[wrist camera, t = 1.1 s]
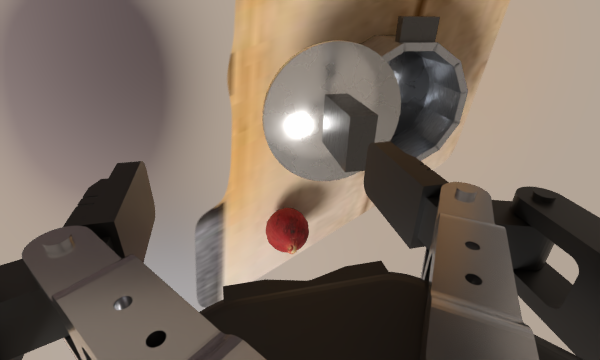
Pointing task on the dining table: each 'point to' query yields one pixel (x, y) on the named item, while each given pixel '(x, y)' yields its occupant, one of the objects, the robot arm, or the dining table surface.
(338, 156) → the lid
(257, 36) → the dining table surface
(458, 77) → the pot
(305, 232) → the onion
